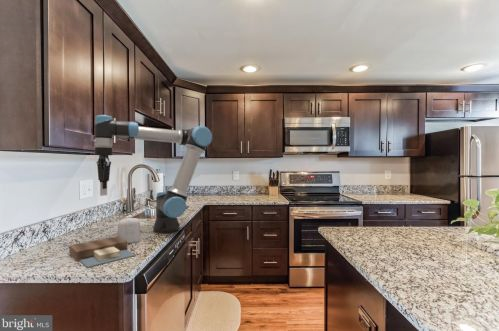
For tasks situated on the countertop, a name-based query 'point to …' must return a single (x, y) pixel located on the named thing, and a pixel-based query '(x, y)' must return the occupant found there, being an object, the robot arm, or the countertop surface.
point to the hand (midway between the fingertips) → (103, 195)
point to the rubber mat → (94, 262)
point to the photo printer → (129, 230)
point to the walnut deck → (95, 247)
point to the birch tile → (106, 254)
